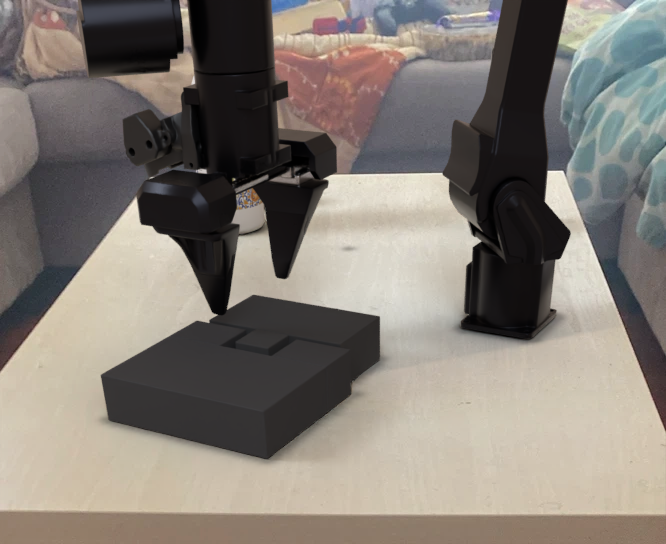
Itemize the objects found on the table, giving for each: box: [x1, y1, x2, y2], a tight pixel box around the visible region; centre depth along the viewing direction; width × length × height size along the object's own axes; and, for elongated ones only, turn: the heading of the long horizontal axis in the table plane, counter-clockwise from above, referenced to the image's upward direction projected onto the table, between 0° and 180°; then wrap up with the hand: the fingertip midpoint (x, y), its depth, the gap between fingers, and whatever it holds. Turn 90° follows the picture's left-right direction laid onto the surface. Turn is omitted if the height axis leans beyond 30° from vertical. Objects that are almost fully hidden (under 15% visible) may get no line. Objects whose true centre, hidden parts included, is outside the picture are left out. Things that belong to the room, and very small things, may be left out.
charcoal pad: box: [100, 320, 352, 460], centre depth 77 cm, size 14×12×4 cm
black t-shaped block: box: [208, 294, 381, 382], centre depth 82 cm, size 12×10×4 cm
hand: (251, 295), depth 83 cm, fingers open, 9 cm apart
